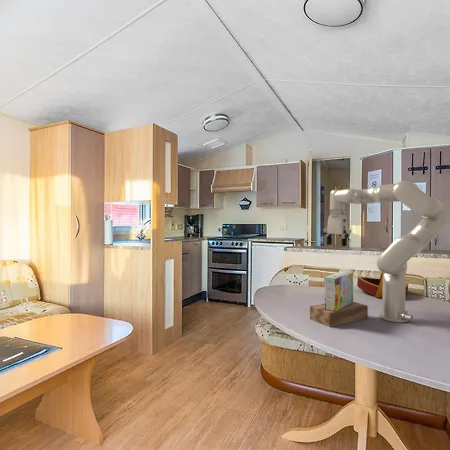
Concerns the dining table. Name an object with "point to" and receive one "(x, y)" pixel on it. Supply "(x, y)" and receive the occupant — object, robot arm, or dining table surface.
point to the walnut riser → (338, 314)
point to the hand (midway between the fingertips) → (336, 245)
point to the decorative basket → (374, 286)
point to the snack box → (338, 290)
